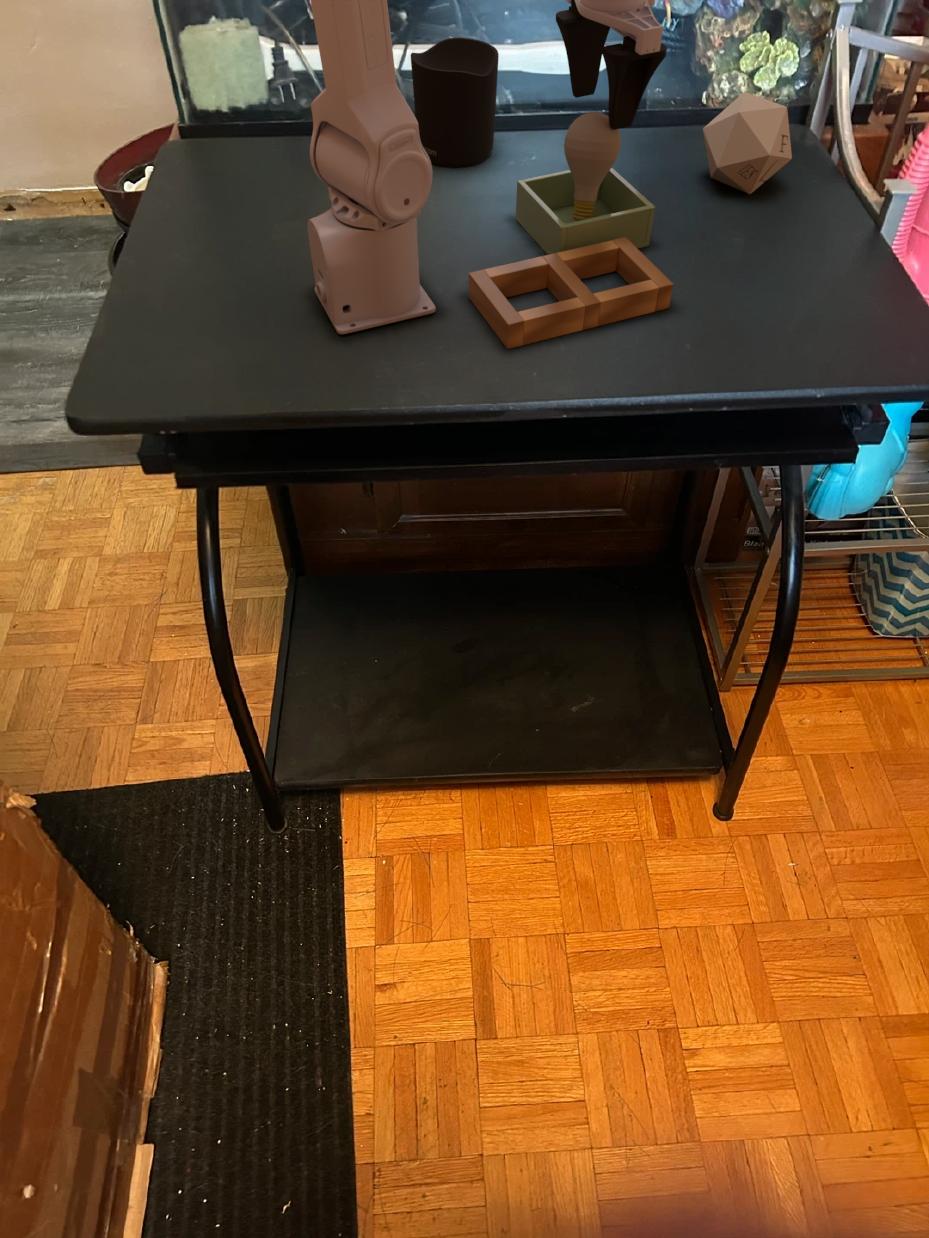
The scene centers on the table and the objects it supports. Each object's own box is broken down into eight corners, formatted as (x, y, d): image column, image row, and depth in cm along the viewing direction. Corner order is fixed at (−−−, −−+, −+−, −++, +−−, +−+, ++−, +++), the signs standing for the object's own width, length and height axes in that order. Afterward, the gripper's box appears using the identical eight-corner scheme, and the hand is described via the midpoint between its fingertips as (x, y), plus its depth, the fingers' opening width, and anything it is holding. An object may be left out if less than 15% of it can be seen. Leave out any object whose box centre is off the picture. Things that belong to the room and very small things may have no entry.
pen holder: (412, 135, 104) (407, 39, 97) (490, 131, 105) (492, 35, 97) (418, 172, 99) (414, 73, 91) (501, 167, 99) (504, 69, 91)
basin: (558, 267, 86) (561, 228, 83) (515, 219, 92) (516, 180, 89) (649, 246, 89) (655, 207, 86) (601, 200, 95) (606, 162, 91)
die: (710, 211, 94) (789, 140, 87) (671, 140, 95) (746, 64, 88) (747, 213, 100) (824, 147, 93) (710, 146, 101) (784, 75, 93)
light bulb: (619, 228, 89) (636, 115, 84) (579, 231, 87) (594, 115, 81) (584, 217, 93) (598, 109, 87) (544, 220, 90) (556, 108, 85)
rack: (507, 349, 78) (508, 324, 76) (468, 297, 83) (468, 272, 81) (669, 308, 82) (673, 284, 80) (622, 261, 87) (625, 236, 85)
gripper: (704, -41, 72) (675, 133, 83) (619, -89, 80) (602, 75, 91) (628, -29, 70) (609, 147, 81) (549, -79, 79) (541, 87, 89)
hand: (601, 110), depth 86 cm, fingers open, 7 cm apart
